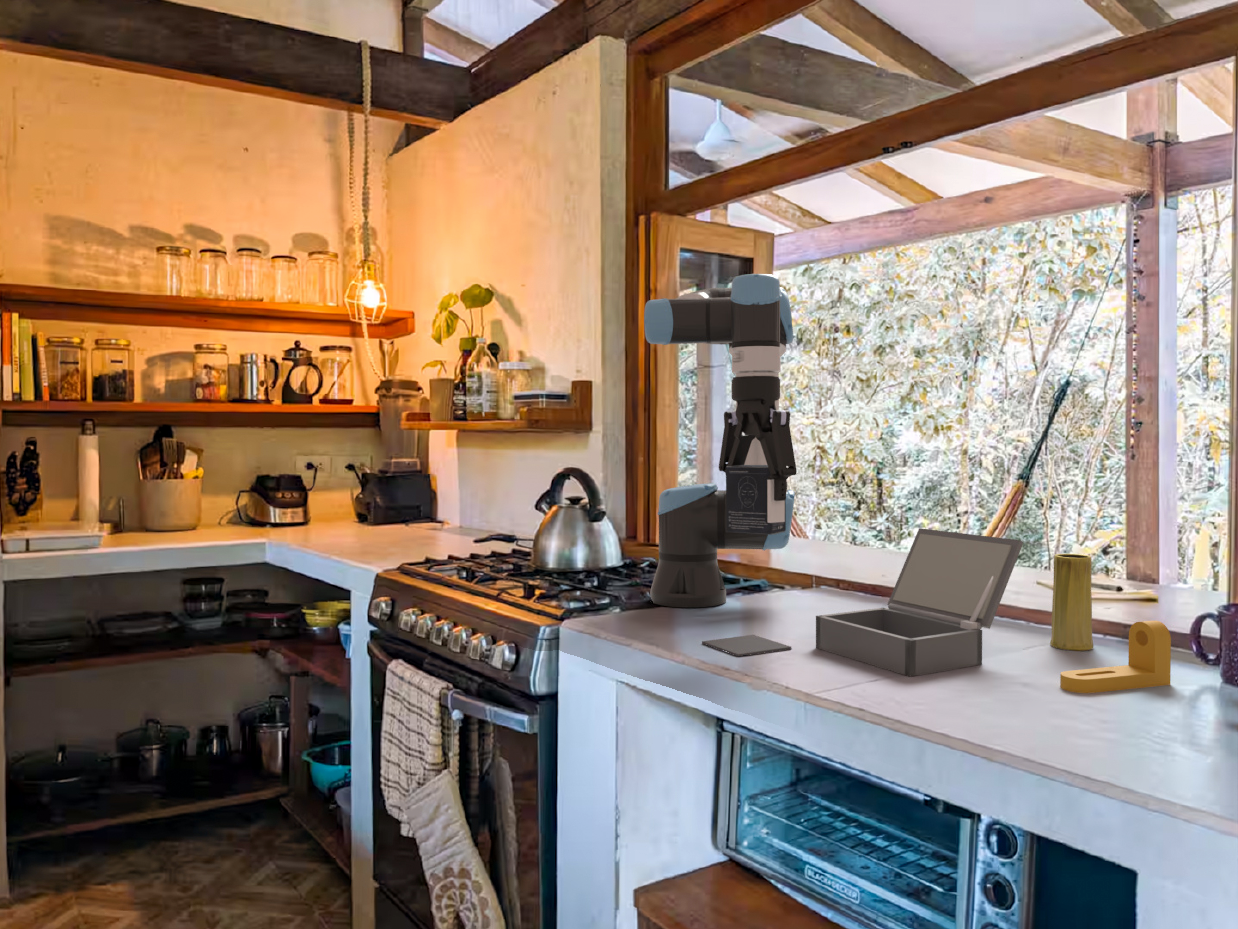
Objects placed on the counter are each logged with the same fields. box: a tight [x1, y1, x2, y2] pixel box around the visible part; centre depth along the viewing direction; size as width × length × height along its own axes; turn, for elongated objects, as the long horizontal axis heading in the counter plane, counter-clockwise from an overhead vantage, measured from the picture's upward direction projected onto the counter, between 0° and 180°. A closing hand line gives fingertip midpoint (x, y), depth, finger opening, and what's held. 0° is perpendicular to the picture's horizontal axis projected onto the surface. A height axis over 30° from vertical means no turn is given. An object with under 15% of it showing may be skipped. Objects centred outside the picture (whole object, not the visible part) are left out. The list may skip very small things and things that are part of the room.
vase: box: [1049, 553, 1094, 652], centre depth 147 cm, size 6×6×14 cm
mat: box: [701, 634, 792, 657], centre depth 149 cm, size 10×10×1 cm
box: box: [725, 465, 786, 535], centre depth 148 cm, size 8×6×11 cm
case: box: [815, 527, 1024, 677], centre depth 144 cm, size 20×22×18 cm
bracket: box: [1059, 620, 1172, 694], centre depth 125 cm, size 15×4×8 cm, turn 106°
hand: (755, 519), depth 148 cm, fingers closed on box, 9 cm apart
